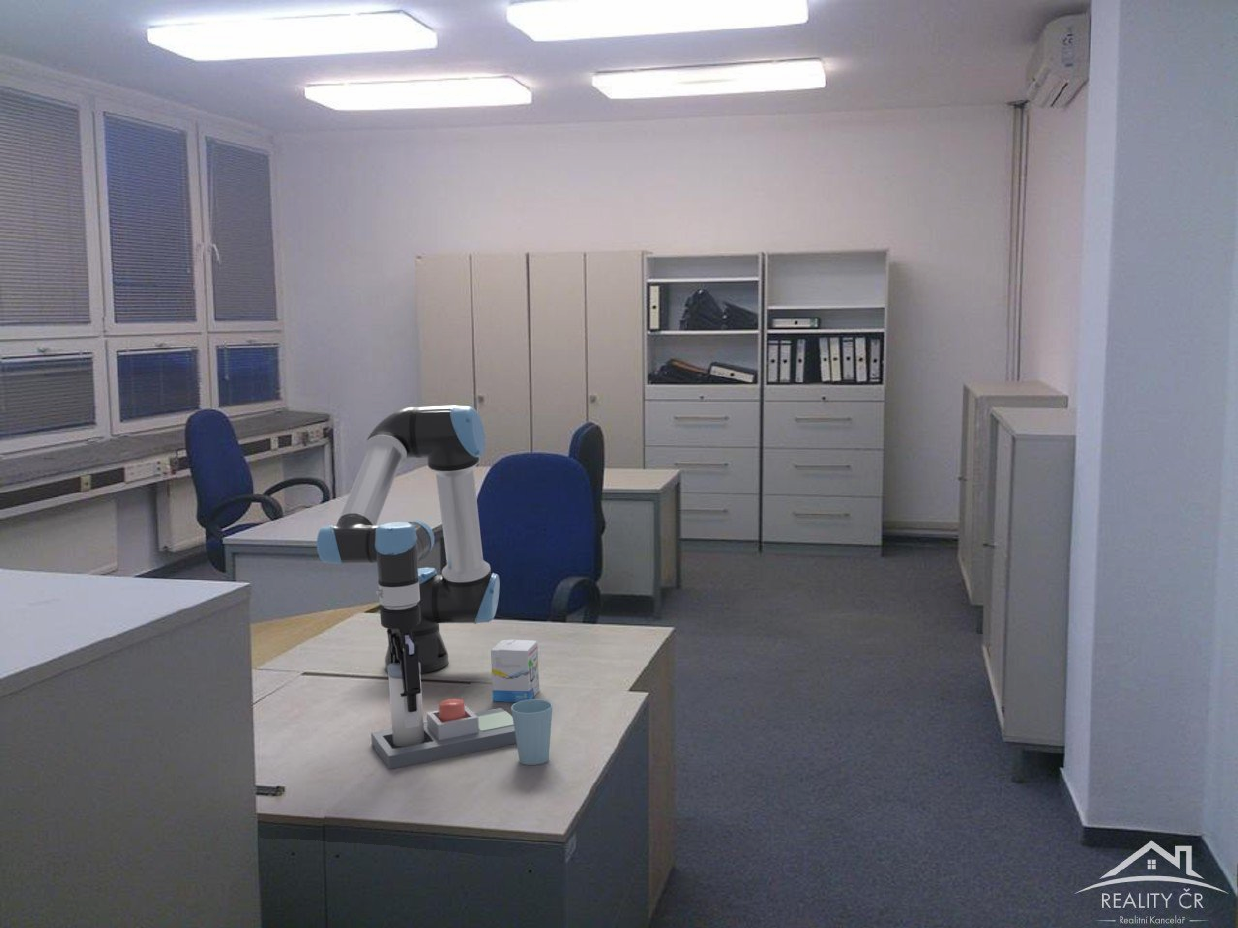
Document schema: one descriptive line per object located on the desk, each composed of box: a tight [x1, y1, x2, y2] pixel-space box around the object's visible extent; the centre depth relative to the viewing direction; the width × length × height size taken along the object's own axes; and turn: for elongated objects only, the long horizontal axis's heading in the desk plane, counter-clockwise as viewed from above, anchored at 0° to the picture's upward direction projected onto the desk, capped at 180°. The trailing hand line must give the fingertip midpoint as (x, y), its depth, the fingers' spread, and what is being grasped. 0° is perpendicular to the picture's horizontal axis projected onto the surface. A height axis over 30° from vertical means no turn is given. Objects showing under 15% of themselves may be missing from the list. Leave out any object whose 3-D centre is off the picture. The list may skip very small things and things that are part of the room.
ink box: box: [490, 639, 540, 703], centre depth 242 cm, size 8×8×12 cm
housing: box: [370, 705, 517, 770], centre depth 216 cm, size 14×27×6 cm, turn 116°
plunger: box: [438, 698, 465, 722], centre depth 216 cm, size 5×5×5 cm
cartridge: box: [387, 662, 424, 747], centre depth 212 cm, size 6×6×15 cm
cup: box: [510, 698, 553, 766], centre depth 206 cm, size 8×8×10 cm
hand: (407, 720), depth 212 cm, fingers closed on cartridge, 6 cm apart
